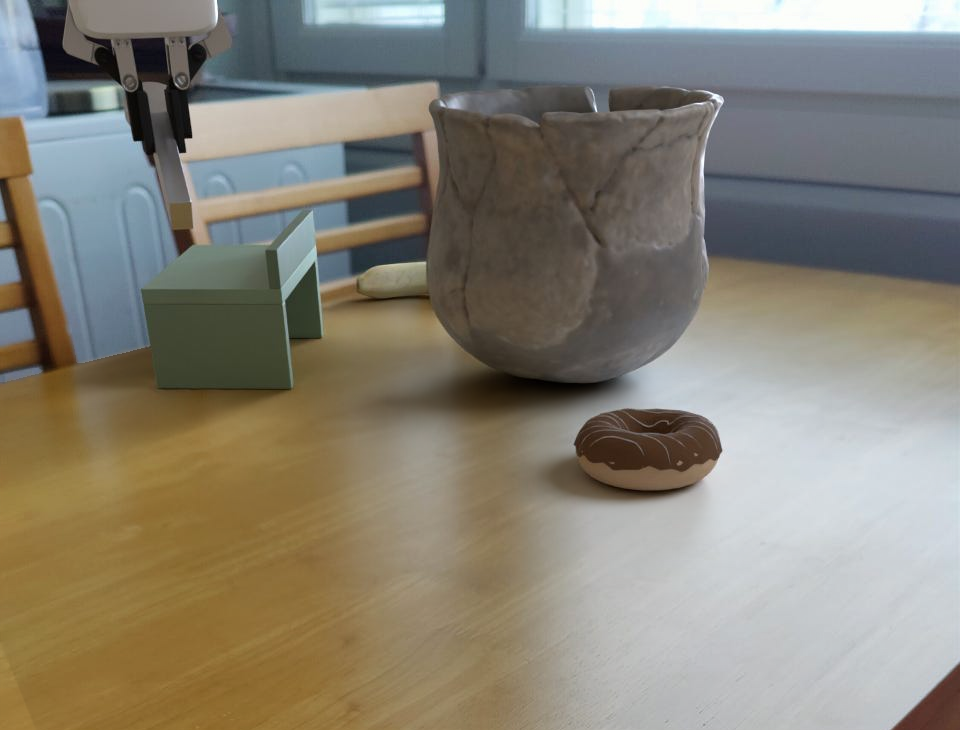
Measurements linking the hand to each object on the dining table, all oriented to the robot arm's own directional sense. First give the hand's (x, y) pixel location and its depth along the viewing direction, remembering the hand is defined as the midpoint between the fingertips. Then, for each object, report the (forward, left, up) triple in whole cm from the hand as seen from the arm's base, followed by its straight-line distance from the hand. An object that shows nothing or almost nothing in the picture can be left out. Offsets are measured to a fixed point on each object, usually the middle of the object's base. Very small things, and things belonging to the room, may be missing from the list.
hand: (164, 149), depth 91 cm
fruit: (+16, +38, -19) cm, 45 cm away
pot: (+31, +11, -19) cm, 38 cm away
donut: (+37, -14, -19) cm, 44 cm away
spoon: (0, +1, -1) cm, 1 cm away
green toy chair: (+1, +15, -19) cm, 24 cm away
